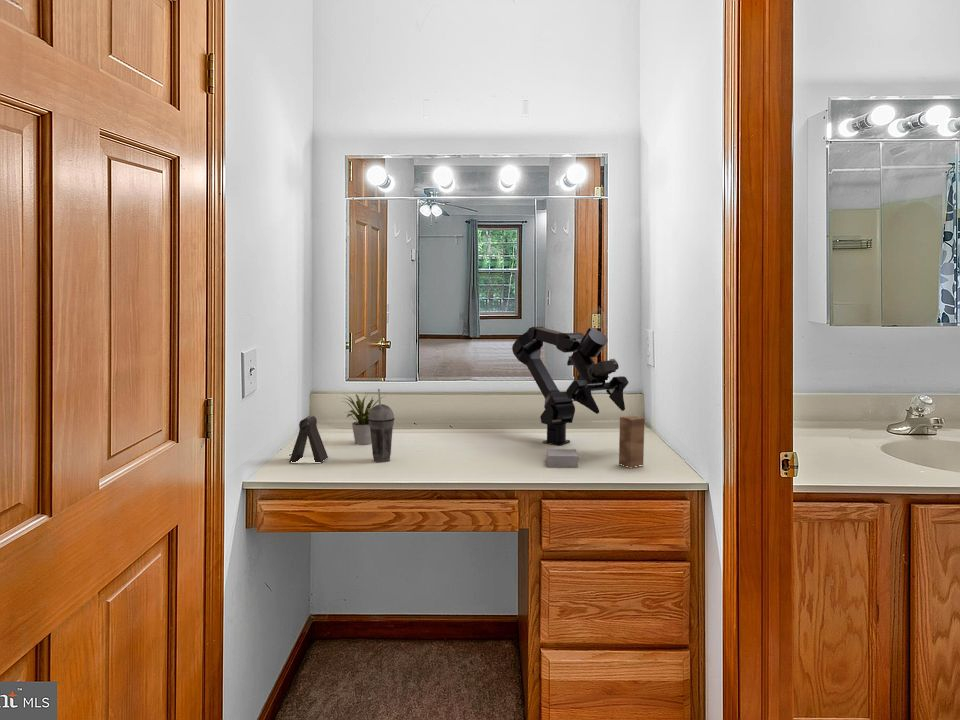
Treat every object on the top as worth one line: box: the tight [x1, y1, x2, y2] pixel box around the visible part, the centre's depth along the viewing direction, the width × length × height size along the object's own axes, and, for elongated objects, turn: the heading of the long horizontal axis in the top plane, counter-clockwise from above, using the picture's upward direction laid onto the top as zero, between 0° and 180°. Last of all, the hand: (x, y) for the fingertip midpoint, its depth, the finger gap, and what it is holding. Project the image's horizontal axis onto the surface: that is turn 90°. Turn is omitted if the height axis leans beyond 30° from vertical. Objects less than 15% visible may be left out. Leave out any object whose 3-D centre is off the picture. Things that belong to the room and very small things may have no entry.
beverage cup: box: [368, 388, 396, 463], centre depth 186 cm, size 7×7×20 cm
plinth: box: [545, 448, 580, 468], centre depth 183 cm, size 8×8×3 cm
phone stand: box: [288, 415, 329, 463], centre depth 186 cm, size 9×6×12 cm, turn 86°
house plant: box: [341, 391, 386, 446], centre depth 208 cm, size 14×14×16 cm
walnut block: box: [618, 415, 645, 468], centre depth 181 cm, size 4×4×13 cm
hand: (611, 411), depth 186 cm, fingers open, 9 cm apart
